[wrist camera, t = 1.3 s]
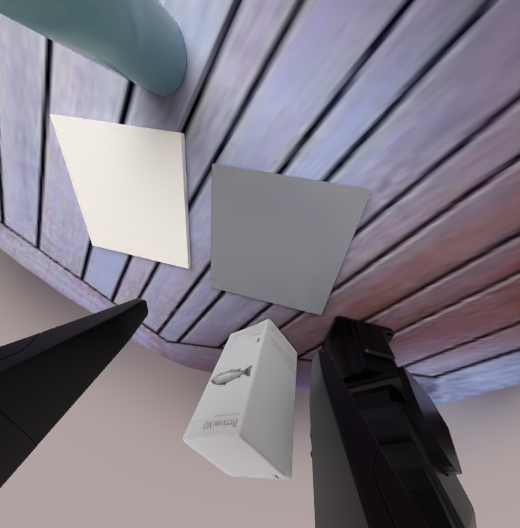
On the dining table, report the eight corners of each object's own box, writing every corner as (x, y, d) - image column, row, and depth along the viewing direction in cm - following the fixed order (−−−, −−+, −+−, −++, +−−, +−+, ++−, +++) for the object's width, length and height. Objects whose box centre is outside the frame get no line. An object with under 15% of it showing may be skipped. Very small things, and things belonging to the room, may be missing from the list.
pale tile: (191, 266, 23) (188, 268, 23) (96, 243, 25) (92, 245, 24) (184, 133, 17) (180, 132, 16) (57, 115, 18) (49, 113, 18)
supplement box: (269, 315, 24) (240, 436, 13) (298, 352, 26) (294, 485, 15) (229, 332, 27) (178, 440, 16) (258, 363, 29) (229, 480, 18)
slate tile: (320, 312, 22) (321, 315, 22) (212, 284, 24) (210, 287, 23) (369, 188, 15) (371, 189, 15) (214, 163, 17) (212, 163, 17)
